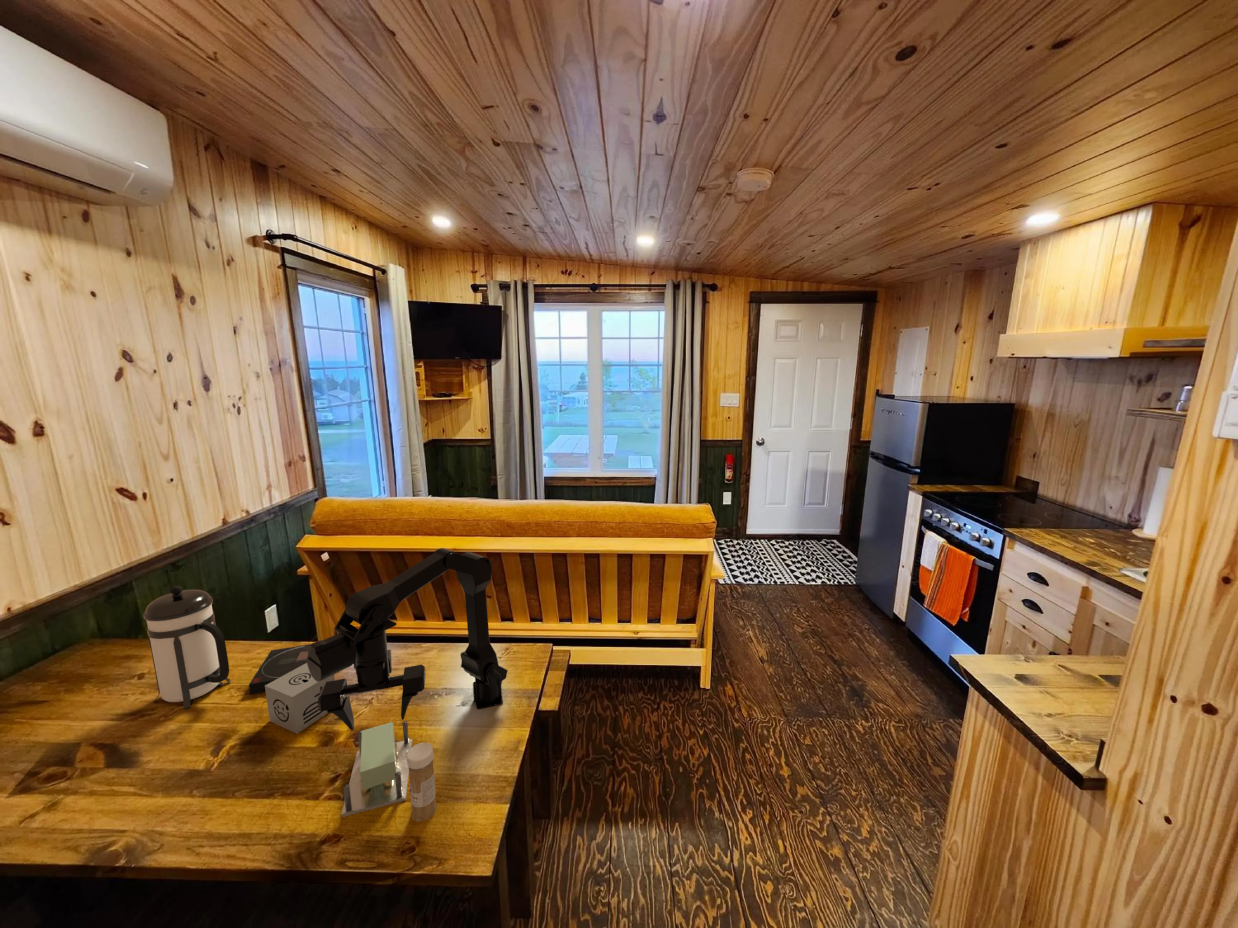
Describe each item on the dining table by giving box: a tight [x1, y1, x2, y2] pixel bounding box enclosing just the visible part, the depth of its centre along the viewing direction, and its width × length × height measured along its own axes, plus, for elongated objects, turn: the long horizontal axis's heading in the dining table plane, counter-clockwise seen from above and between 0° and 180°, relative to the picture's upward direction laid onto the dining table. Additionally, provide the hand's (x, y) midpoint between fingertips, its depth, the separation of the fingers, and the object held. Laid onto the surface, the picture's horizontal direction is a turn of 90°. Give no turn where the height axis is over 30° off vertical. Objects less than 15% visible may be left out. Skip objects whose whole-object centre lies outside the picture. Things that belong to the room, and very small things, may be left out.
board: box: [360, 721, 396, 790], centre depth 96 cm, size 12×6×4 cm, turn 27°
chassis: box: [341, 720, 413, 818], centre depth 97 cm, size 16×11×6 cm
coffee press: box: [142, 585, 231, 711], centre depth 120 cm, size 17×16×30 cm
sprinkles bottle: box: [407, 742, 438, 823], centre depth 88 cm, size 5×5×14 cm
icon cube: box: [265, 663, 336, 735], centre depth 114 cm, size 10×10×10 cm
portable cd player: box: [248, 643, 312, 696], centre depth 132 cm, size 16×17×4 cm
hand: (378, 723), depth 96 cm, fingers open, 9 cm apart
